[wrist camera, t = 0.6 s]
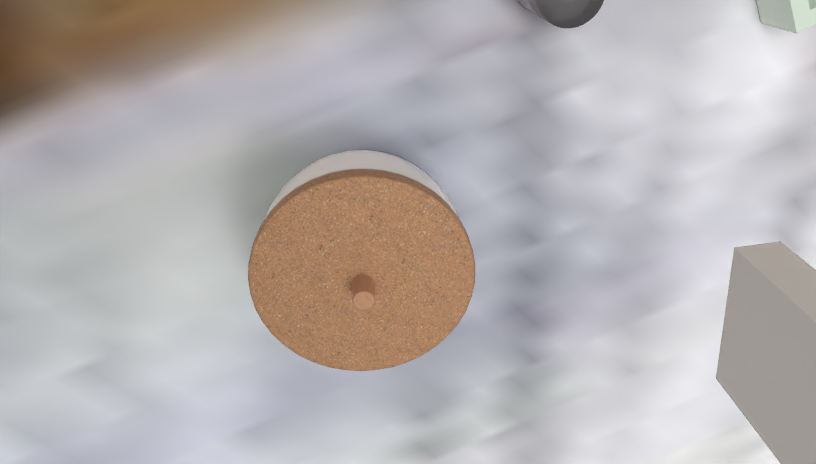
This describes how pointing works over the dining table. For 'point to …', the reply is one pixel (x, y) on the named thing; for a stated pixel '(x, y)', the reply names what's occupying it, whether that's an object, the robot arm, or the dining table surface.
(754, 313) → the robot arm
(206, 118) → the dining table surface
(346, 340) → the lidded jar
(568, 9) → the bench dogs
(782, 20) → the tray
